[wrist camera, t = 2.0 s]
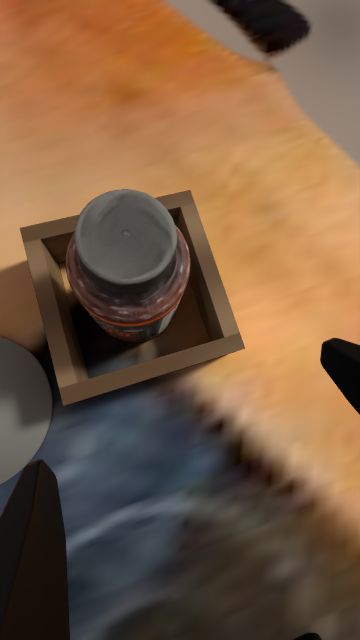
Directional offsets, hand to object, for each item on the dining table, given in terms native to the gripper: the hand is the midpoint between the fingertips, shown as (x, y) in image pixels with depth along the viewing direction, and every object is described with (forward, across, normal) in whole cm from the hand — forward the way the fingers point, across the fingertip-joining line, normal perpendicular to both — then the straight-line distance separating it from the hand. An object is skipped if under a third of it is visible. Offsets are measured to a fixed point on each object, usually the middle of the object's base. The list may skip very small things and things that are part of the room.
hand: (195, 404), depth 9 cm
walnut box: (+14, 0, +4) cm, 15 cm away
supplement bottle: (+14, 0, +5) cm, 15 cm away
